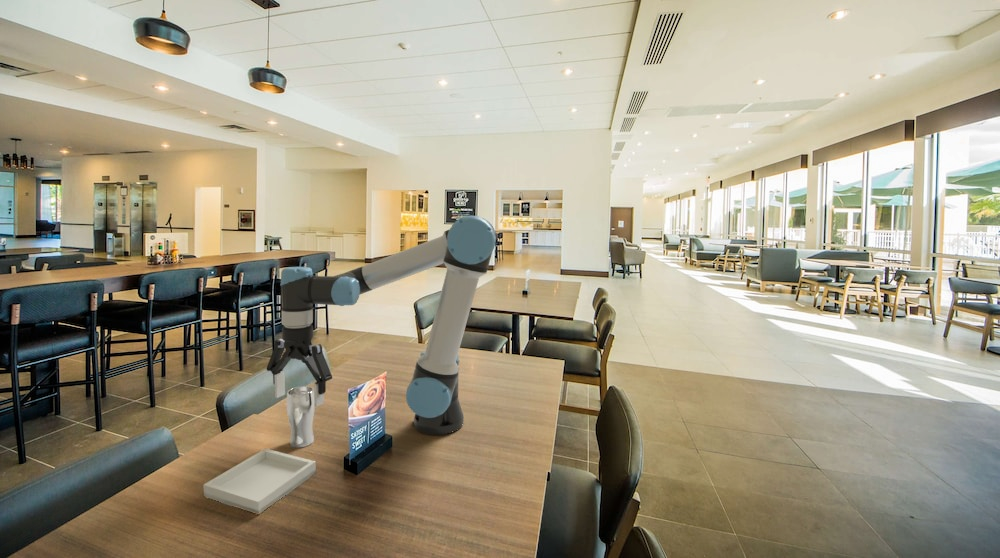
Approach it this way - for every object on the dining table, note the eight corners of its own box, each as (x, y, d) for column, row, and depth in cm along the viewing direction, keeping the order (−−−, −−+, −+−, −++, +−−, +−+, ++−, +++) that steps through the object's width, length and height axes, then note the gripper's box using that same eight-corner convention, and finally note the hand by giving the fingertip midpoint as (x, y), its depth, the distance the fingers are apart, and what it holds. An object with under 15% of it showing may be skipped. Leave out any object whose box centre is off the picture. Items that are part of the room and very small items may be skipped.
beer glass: (305, 450, 111) (303, 397, 109) (282, 446, 113) (280, 394, 111) (321, 437, 118) (319, 387, 116) (299, 434, 120) (297, 384, 118)
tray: (316, 472, 102) (315, 461, 101) (259, 515, 87) (258, 502, 86) (266, 459, 107) (265, 448, 106) (204, 497, 92) (203, 484, 91)
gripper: (345, 327, 111) (346, 403, 113) (273, 316, 119) (275, 387, 121) (325, 333, 104) (326, 414, 106) (250, 322, 111) (252, 397, 114)
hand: (299, 400), depth 114 cm, fingers open, 13 cm apart
